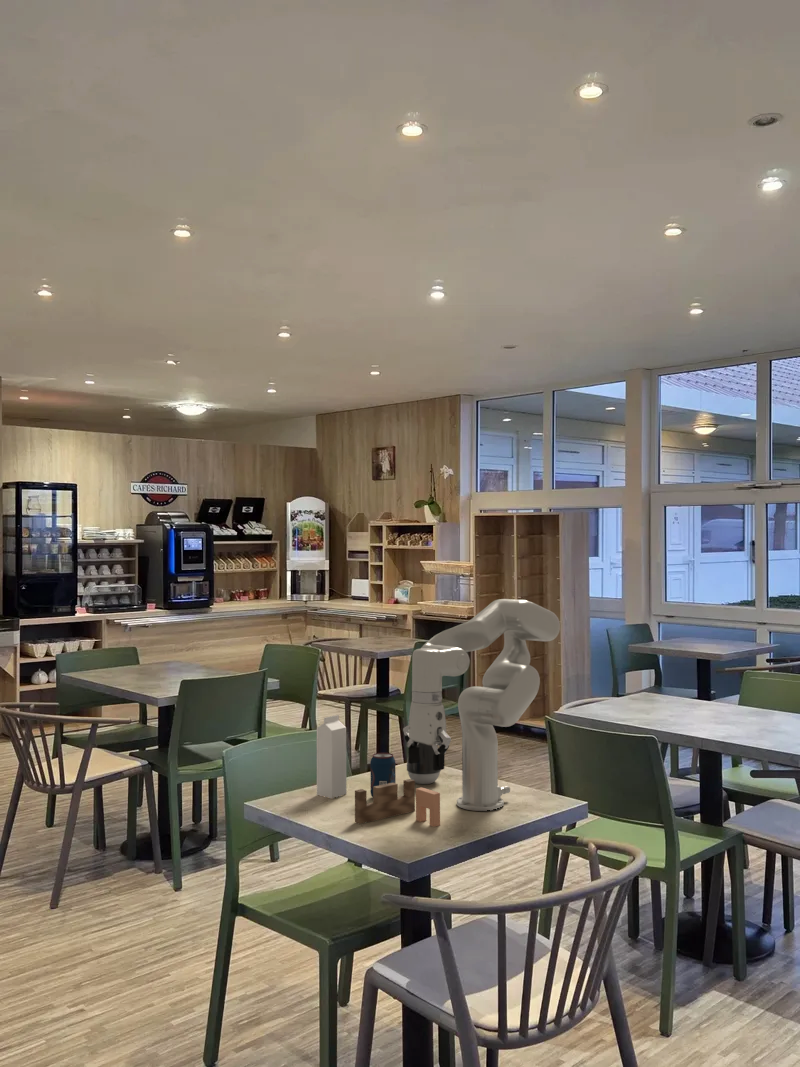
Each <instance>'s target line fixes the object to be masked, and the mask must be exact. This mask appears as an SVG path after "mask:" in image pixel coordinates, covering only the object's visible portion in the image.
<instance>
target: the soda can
mask: <svg viewBox="0 0 800 1067" xmlns="http://www.w3.org/2000/svg"><path fill="white" fill-rule="evenodd" d="M388 783H396V759H395V758H394V754H393V753H391V752H376V753H373V754H372V757H371V760H370V796H371V797H372V799H373V787H374V786H379V785H383V784H388ZM396 784H397V783H396Z"/></svg>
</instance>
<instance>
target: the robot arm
mask: <svg viewBox="0 0 800 1067" xmlns="http://www.w3.org/2000/svg"><path fill="white" fill-rule="evenodd" d="M560 623H561V622H560V619H559V617H558V616H557V615H556V613H555V612H553V611H551V610H549V609H547V608H545V607H543V606H541V605H539V604H537V603H535V602H532V601H529V600H526V599H514V598H513V599H511V598H510V599H509V598H501V599H500V598H499V599H495V600H493V601H492V602H490V603H489V604H488V605H487V606H485V608H483V609H482V610H481V611H479V612H478V613H477V614H476V615H475V616H474V617H472V618H471V619H469V621H467V622H464V623H461V624H458V625H456V626H453V627H451V628H447V629H445V630H442V631H441V632H439V633H437V634H435V635H433V637H431V638H430V639H428V640H427V641H426V642H425V643H424V644H423V645H422V646H421V647H420V648H417V649H414V650H413V652H412V658H411V659H412V660H411V661H412V662H411V663H412V664H411V665H412V666H411V668H412V670H411V680H412V681H411V682H412V683H411V703H410V708H409V714H408V715H409V717H408V718H409V719H408V725H406V726H404V727H403V728H402V732H403V734H404V739H405V741H406V747H407V748H408V749H407V750H408V751H407V759H408V763H410V764H411V763H417V762H419V746H417V745H418V744H419V743H422V744H426V745H432V747H433V749H434V752H435V754H433V770H435V771H437V770H441V771H442V770H445V757H446V756H445V755H446V754H447V751H448V749H449V748H450V744H451V741H452V738H451V737H450V735H449V734H448V733H447V719H446V711H445V706H444V704H443V703H442V702H443V701H442V700H443V694H442V692H443V687H442V686H443V684H442V683H443V677H446V676H447V677H459V676H462V675H463V674H465V673H466V672H467V671H468V670H469V667H470V662H471V661H470V656H469V654H468V652H474V651H478V650H483V649H486V648H488V647H489V646H490V645H492V643H494V642H495V641H496V640H497V639H498V638H499V637H500V636H502V635H503V639H504V644H503V649H502V650H501V652H500V653H499V655H497V657H496V658H495V659H494V660H493V662H492V664H491V665H490V666H489V667H488V668H487V670H486V671H485V673H484V675H483V677H482V686H470V687H466V688H465V689H464V690H462V691H461V693H460V695H459V697H458V700H457V706H458V707H457V708H458V714H459V719H460V725H461V742H462V743H461V746H462V747H461V750H462V751H461V755H462V756H461V760H462V762H461V767H462V769H461V770H462V771H461V773H462V776H461V777H462V778H461V779H462V780H461V782H462V786H461V787H462V788H461V789H462V796H459V797H458V798H457V799H456V806H458V807H459V808H461V809H464V810H468V811H472V812H473V811H475V812H488V811H487V810H490V811H494V810H493V809H496V810H498V809H497V808H499V809H501V808H500V807H502V806H503V807H504V803H505V801H504V799H502V795H506V794H509V793H510V792H511V788H510V786H509V785H504V786H500V785H498V784H499V783H498V782H499V779H498V774H499V773H498V770H499V768H498V767H499V766H498V765H499V764H498V763H499V761H498V760H499V758H498V756H499V754H498V747H499V746H498V737H497V736H498V735H497V732H496V730H495V728H494V726H496V727H501V728H503V727H505V728H507V727H511V726H513V725H515V724H516V723H517V722H518V721H519V719H521V717H522V716H523V714H524V713H525V712H526V711H527V709H528V708H529V707H530V705H531V703H532V702H533V700H535V698H536V696H537V694H538V692H539V689H540V684H541V679H540V674H539V672H538V670H537V669H536V668H535V667H534V666H532V665H530V663H531V654H530V651H529V649H528V645H527V641H536V642H550V641H553V640H555V639H556V638H557V637H558V635H559V634H560V632H561V630H560V629H561V624H560ZM503 807H502V808H503Z"/></svg>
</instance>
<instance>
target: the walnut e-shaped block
mask: <svg viewBox="0 0 800 1067" xmlns="http://www.w3.org/2000/svg"><path fill="white" fill-rule="evenodd" d="M415 784H416V783H415V780H412V779H411V778H409V779H404V780H403V795H400V796H399V795H398V789H399V788H398V783H388V784H383V785H379V786H374V787H373V798H372V802H369V803H368V802H367V797H368V796H367V795H368V794H367V790H366V789H363V788H360V789H356V790H354V823H355V822H356V823H355V824H358V823H359V825H362V824H366V823H365V822H367V823H370V821H371V822H375V821H379V820H382V819H383V820H384V819H387V818H391V817H396V816H399V815H403V814H408V813H412V812H416V786H415ZM374 820H375V821H374ZM361 823H362V824H361Z"/></svg>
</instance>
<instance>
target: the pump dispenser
mask: <svg viewBox="0 0 800 1067" xmlns="http://www.w3.org/2000/svg"><path fill="white" fill-rule="evenodd" d="M417 746H419V762H417V763H411V764H410V763H408V758H407V761H406V771H407V774H408V776H409V779H412V780H415V784H417V785H430V784H433V783H434V782H436V781H437V780H438V779H439V776H440V775H441V774H440V773H441V771H442V770H437V771H435V770H433V754H435V752H434V749H433V747H432V745H426V744H422V743H419V744H418V745H417Z"/></svg>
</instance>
